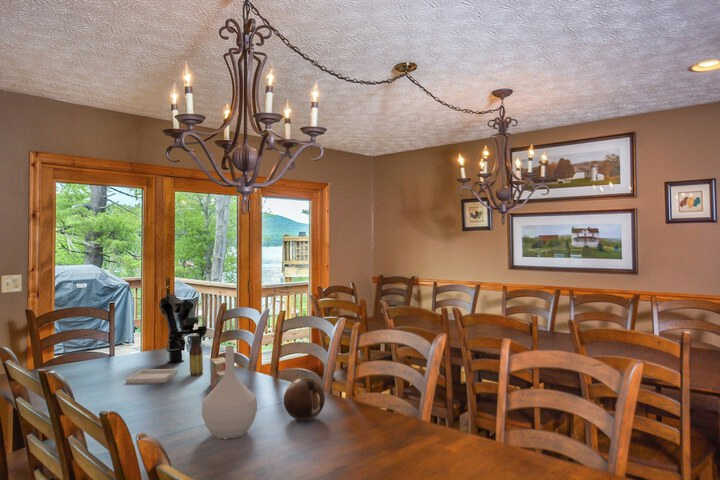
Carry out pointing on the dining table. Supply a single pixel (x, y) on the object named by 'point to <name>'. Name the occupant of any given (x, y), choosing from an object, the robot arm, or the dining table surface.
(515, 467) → the dining table surface
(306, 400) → the wooden sphere
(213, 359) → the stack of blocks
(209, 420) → the vase
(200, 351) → the sauce bottle
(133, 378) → the tray
